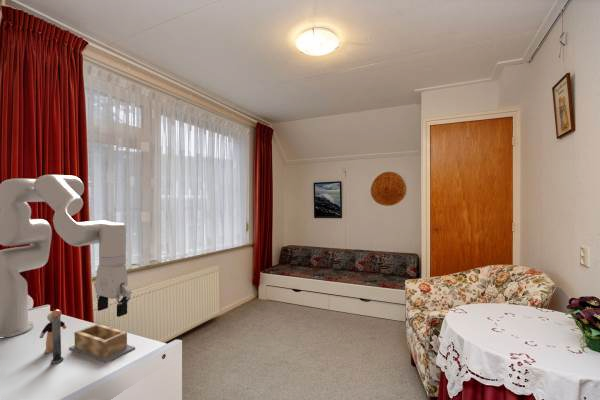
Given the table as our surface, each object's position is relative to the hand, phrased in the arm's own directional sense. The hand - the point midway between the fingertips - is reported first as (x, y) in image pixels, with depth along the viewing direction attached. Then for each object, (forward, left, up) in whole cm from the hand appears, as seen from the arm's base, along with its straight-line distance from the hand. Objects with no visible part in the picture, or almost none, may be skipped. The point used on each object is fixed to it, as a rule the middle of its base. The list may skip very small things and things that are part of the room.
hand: (112, 312), depth 99 cm
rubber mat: (-6, 0, -14) cm, 15 cm away
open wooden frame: (-6, 0, -13) cm, 15 cm away
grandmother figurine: (-21, -7, -14) cm, 26 cm away
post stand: (-11, -11, -14) cm, 20 cm away
